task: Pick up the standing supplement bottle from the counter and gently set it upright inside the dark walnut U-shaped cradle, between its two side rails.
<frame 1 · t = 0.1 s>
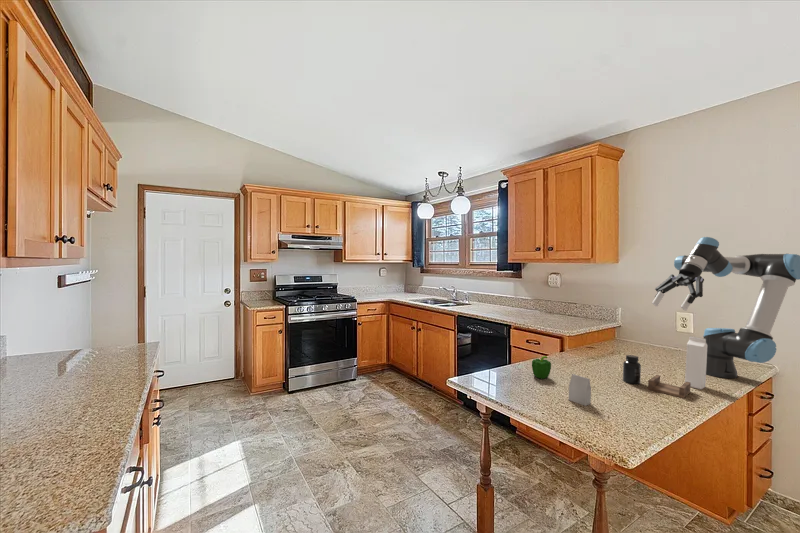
hand: (668, 306, 160), 36 cm above the countertop, tool tilted 35°, fingers open, 13 cm apart
milk: (695, 386, 164), on the countertop
grey upright block: (579, 402, 142), on the countertop
u cradle: (668, 390, 158), on the countertop
bell pepper: (540, 377, 171), on the countertop
supplement bottle: (631, 382, 167), on the countertop
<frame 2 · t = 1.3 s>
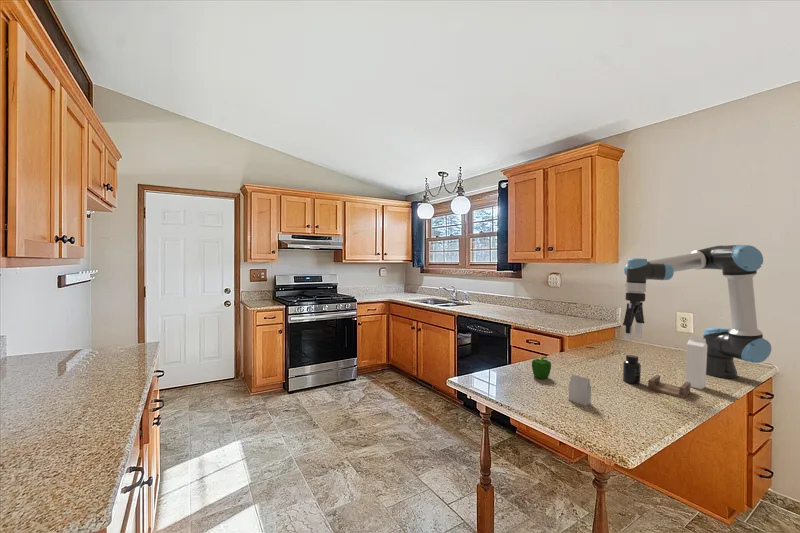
hand: (633, 338, 167), 20 cm above the countertop, tool pointing down, fingers open, 13 cm apart
nothing on the countertop moved.
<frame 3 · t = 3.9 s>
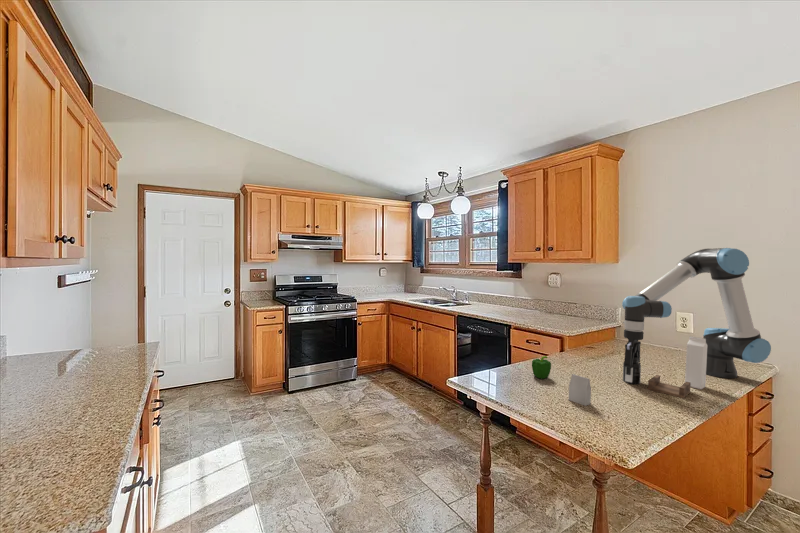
hand: (631, 379, 167), 1 cm above the countertop, tool pointing down, fingers closed on supplement bottle, 7 cm apart
supplement bottle: (631, 382, 167), on the countertop, touching gripper
everything else where it was.
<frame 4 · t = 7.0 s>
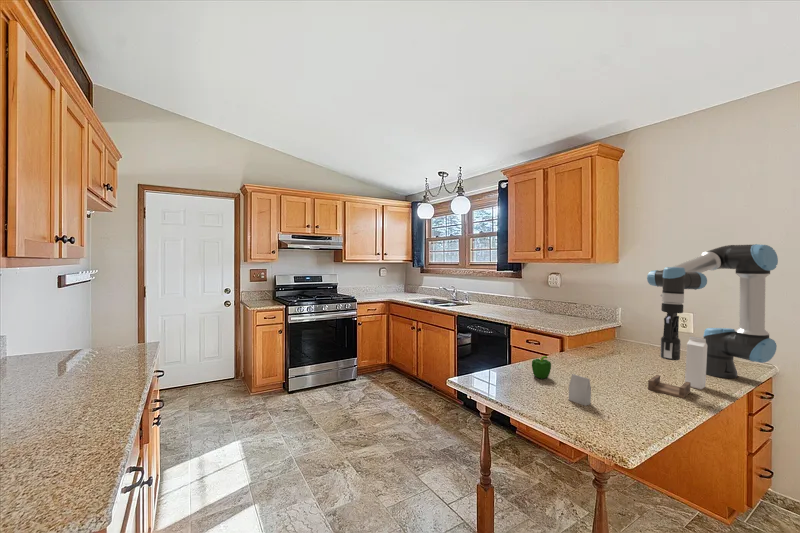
hand: (670, 356, 157), 15 cm above the countertop, tool pointing down, fingers closed on supplement bottle, 7 cm apart
supplement bottle: (669, 359, 157), point 14 cm above the countertop, touching gripper
everything else where it was.
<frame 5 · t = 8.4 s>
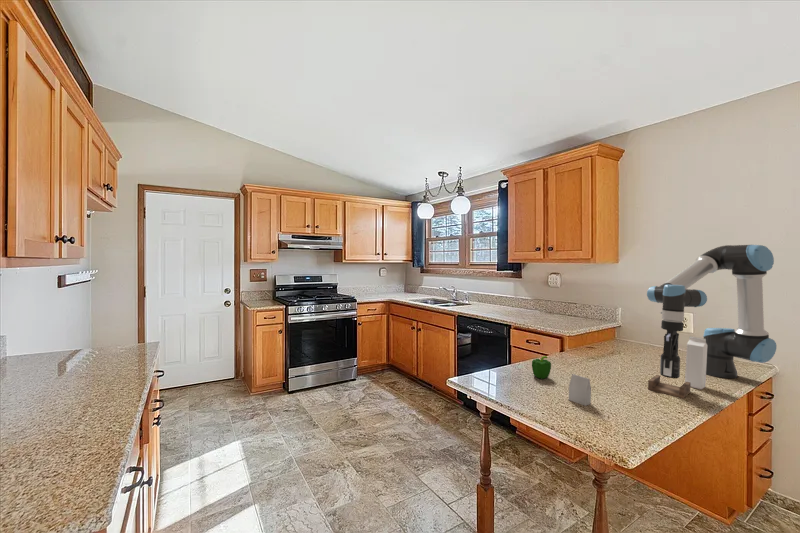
hand: (669, 373, 157), 7 cm above the countertop, tool pointing down, fingers closed on supplement bottle, 7 cm apart
supplement bottle: (669, 376, 157), point 6 cm above the countertop, touching gripper
everything else where it was.
when the fingers open (3 cm above the countertop, at t = 9.9 s): supplement bottle drops 1 cm, resting on u cradle.
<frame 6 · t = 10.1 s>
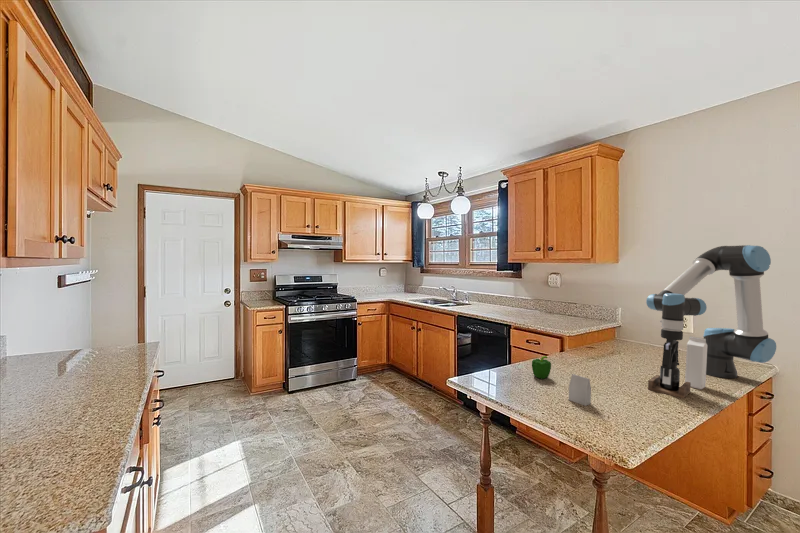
hand: (669, 381, 157), 4 cm above the countertop, tool pointing down, fingers open, 9 cm apart
supplement bottle: (669, 388, 158), point 1 cm above the countertop, touching u cradle
everything else where it was.
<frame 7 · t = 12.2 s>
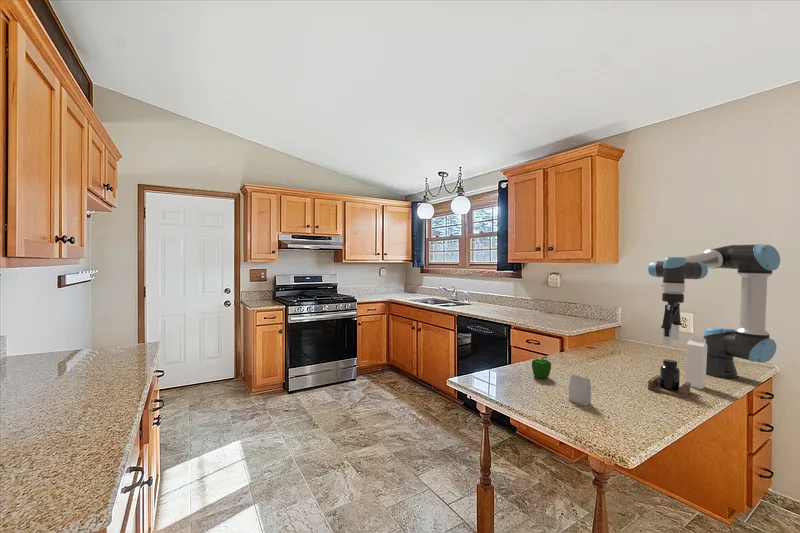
hand: (671, 341, 158), 21 cm above the countertop, tool pointing down, fingers open, 13 cm apart
nothing on the countertop moved.
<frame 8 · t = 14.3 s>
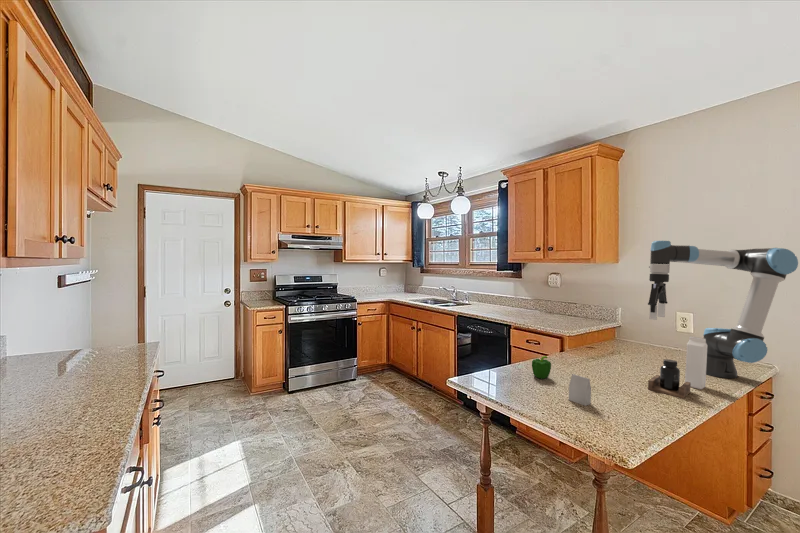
hand: (657, 318, 174), 29 cm above the countertop, tool pointing down, fingers open, 13 cm apart
nothing on the countertop moved.
at the end: supplement bottle 0.1 cm off-centre on the u cradle, point 0.8 cm above the u cradle's base; supplement bottle tilted 0°; the gripper is holding nothing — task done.
